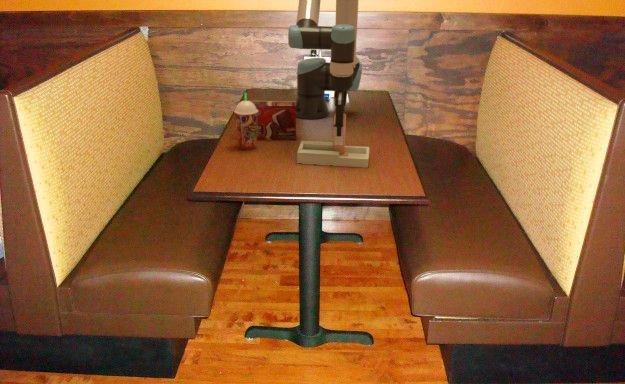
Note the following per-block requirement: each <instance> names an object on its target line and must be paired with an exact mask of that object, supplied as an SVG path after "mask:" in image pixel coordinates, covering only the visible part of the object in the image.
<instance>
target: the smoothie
mask: <svg viewBox="0 0 625 384" xmlns="http://www.w3.org/2000/svg"><path fill="white" fill-rule="evenodd" d="M247 96H248V95H247V92H244V100H241V101H240V102H238V103H237V105H236V107H235V109H234V111H233V112H234V119H235V129H236V130H235V131H236V141H237V146H239V147H238V148H239V149H242V150H247V151H248V150H249V151H250V150H253V149H255V147H256V145H257V143H258V140H257V119H258V110H257V108H256V106H255V105H254V104H253V103H252V102H251V101H252V100H248V99H247Z"/></svg>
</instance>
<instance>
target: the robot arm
mask: <svg viewBox="0 0 625 384" xmlns="http://www.w3.org/2000/svg"><path fill="white" fill-rule="evenodd" d="M321 1H322V0H298V6H297V13H296V14H297V15H296V22H295V24H293V25H289V27H288V31H287V33H288V35H287V37H288V38H287V39H288V40H287V41H288V46H289V47H290V48H291V49H297V50H298V49H299V50H326V51H327V50H330V62H327V61H326V59H325V58H323V57H310V58H305V59H303V60H300V61H299V62H298V63H297V68H296V69H297V70H296V75H297V77H296V78H297V80H296V81H297V82H296V86H297V88H296V89H297V90H296V98H295V101H296V118H298V119H305V120H319V119H323V118H326V117H327V116H328V115H329V107H328V104H327V100H326V97H325V92H334V106H335V113H336V119H335V125H334V124H333V125H332V126H333V128H334V127H335V145H343V115H344V113H345V112H346V111H345V109H346V108H345V107H346V103H347V97H348V93H350V92H356V91H358V90H359V87H360V83H361V80H362V72H363V63H360V58H359V57H358V56H357V37H358V17H359V15H358V14H359V0H335V25H333V26H329V25H328V26H326V25H325V26H323V25H322V26H321V25H319V21H320V20H319V19H320V10H321Z"/></svg>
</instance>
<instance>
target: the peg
mask: <svg viewBox="0 0 625 384" xmlns="http://www.w3.org/2000/svg"><path fill="white" fill-rule="evenodd" d="M335 119H336V112H335V113H334V114H333V125H335ZM346 125H347V113H345V112H344V115H343V145H335V127H333V135H332V136H333V140H332V142H333V150H332V151H339V156H346V157H348V152H347V151H345V146H346Z"/></svg>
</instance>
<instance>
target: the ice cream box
mask: <svg viewBox="0 0 625 384" xmlns="http://www.w3.org/2000/svg"><path fill="white" fill-rule="evenodd" d="M250 101H251V102H252V103H253V104H254V105H255V106H256V108H257V110H258V119H257V141H296V140H297V117H296V100H293V101H291V100H290V101H288V100H286V101H285V100H283V101H282V100H250Z"/></svg>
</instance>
